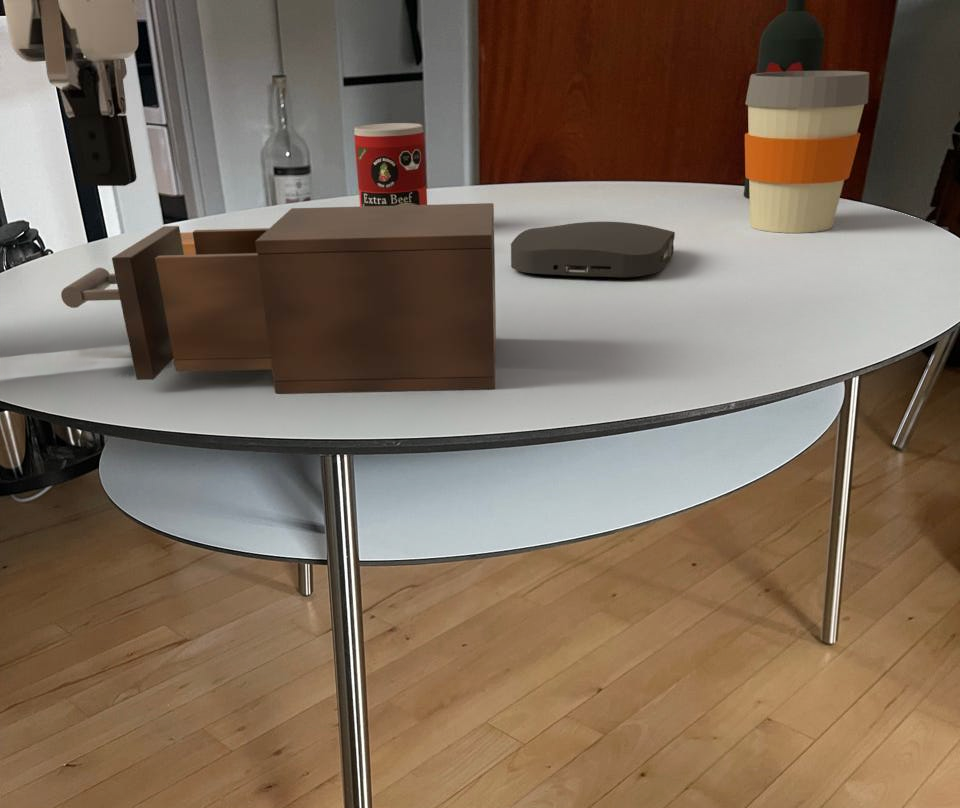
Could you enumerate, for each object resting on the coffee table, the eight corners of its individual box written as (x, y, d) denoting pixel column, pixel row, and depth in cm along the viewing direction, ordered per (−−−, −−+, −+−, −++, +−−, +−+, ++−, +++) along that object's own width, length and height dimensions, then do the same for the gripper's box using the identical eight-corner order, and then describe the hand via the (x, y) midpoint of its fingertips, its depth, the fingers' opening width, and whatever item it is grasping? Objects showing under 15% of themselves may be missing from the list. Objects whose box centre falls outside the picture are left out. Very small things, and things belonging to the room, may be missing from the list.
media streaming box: (540, 247, 108) (540, 216, 107) (679, 251, 104) (681, 220, 103) (500, 276, 97) (500, 243, 95) (655, 283, 93) (657, 248, 91)
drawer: (63, 381, 68) (34, 259, 64) (118, 336, 78) (95, 227, 74) (337, 376, 68) (325, 252, 64) (358, 331, 78) (348, 221, 73)
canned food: (355, 238, 116) (345, 130, 110) (371, 226, 122) (363, 123, 117) (421, 238, 115) (415, 129, 109) (434, 225, 121) (429, 122, 116)
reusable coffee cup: (735, 235, 111) (750, 78, 103) (731, 216, 122) (745, 72, 114) (856, 236, 109) (880, 75, 101) (841, 216, 119) (863, 69, 112)
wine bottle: (736, 202, 130) (763, -86, 115) (748, 190, 138) (775, -80, 123) (799, 204, 128) (837, -90, 112) (808, 192, 136) (844, -84, 120)
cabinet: (275, 393, 68) (254, 240, 63) (306, 342, 79) (290, 208, 74) (494, 389, 67) (491, 234, 62) (496, 337, 78) (493, 202, 73)
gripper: (34, -148, 64) (93, 170, 74) (-84, -190, 52) (6, 201, 61) (152, -150, 64) (196, 169, 74) (63, -192, 51) (130, 201, 61)
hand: (109, 183), depth 67 cm, fingers closed
